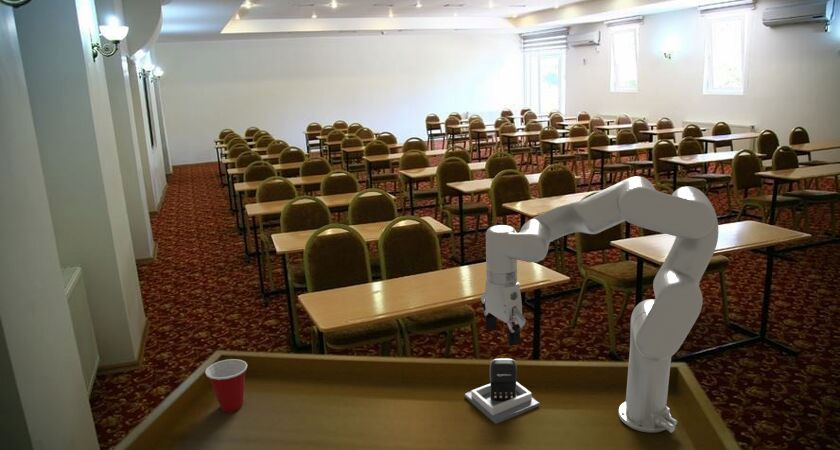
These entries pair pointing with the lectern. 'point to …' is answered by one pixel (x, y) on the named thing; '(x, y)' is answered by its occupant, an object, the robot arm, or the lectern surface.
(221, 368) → the plastic cup
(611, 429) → the lectern surface
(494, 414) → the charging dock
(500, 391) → the battery charger
